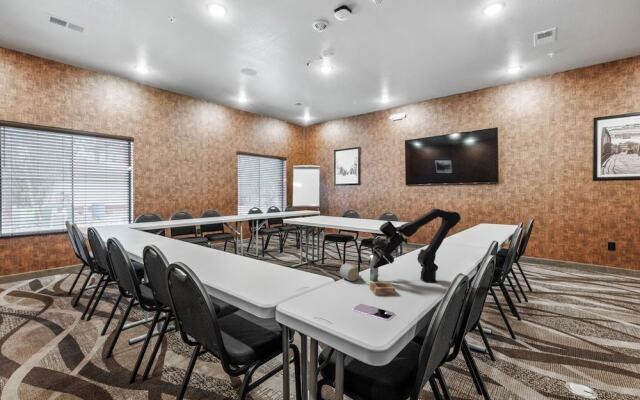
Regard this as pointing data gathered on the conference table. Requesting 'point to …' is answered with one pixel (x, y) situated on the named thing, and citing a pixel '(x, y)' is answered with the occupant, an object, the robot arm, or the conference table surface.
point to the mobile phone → (374, 312)
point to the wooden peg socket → (382, 288)
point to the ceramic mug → (349, 272)
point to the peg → (373, 270)
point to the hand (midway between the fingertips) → (371, 265)
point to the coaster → (367, 281)
